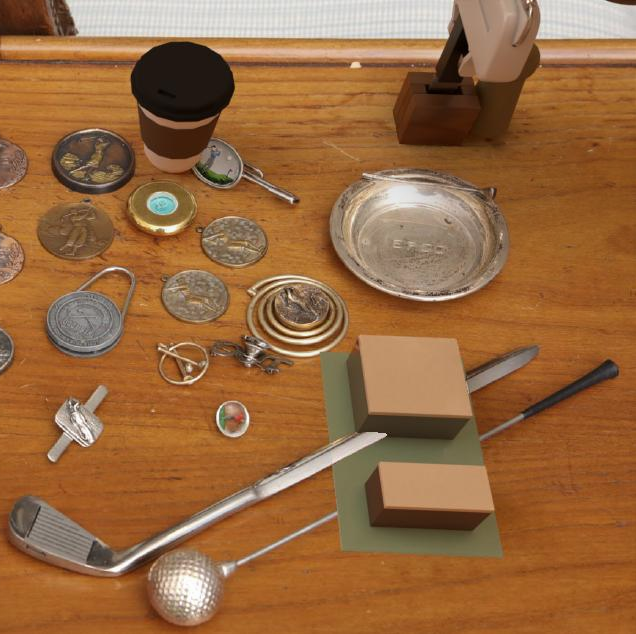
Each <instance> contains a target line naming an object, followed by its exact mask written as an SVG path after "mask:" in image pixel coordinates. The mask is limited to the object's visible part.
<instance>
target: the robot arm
mask: <svg viewBox="0 0 636 634" xmlns="http://www.w3.org/2000/svg"><path fill="white" fill-rule="evenodd" d="M605 1H606V2H609V3H612V4H617V5H621V6H632V7H633V6H636V0H605ZM451 10H452V11H451V18H450V19H449V20H450V21H449V23H448V25H447V32H448V36H450V33H451V31H452V29H453V26H454V24H455V22H456V20H457V17H458V15H459V13H460V15H461V19H462V23H463V27H464V30H465V34H466V38H467V42H468V45H469V47H468V50H469V51H470V52H469V53H468V54H461V56H460V58H459V62H458V63H457V67H458V72H459V75H460V76H461V77H473V78H474V77H475V76H476V79H478V80H480V81H484V82H511V81H513V80H515V79H517V78H518V76H519V75H520V73H521V71H522V69H523V67H524V65H525V62H526V60H527V58H528V56H529V53H530V51H531V49H532V46H533V44H534V43H535V41H536V39H537V36H538V34H539V30H540V25H541V19H542V17H541V10H540V6H539V3H538V0H453V3H452V9H451Z"/></svg>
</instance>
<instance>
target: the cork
mask: <svg viewBox="0 0 636 634" xmlns="http://www.w3.org/2000/svg"><path fill="white" fill-rule="evenodd" d="M541 56H542V55H541V51H540V49H539V46H538V45H536V43H535V42H534V44H533V46H532V49H531V51H530V53H529V56H528V58H527V60H526V62H525V65H524V67H523V69H522V71H521V73H520V75H519V76H518V78H517V79H515V80H513V81H511V82H484V81H480V80H479V79H478V80H477V82H476V83H475V88H476V92H477V96H478V100H479V104H480V107H481V109H480V111H479V113H478V115H477V117H476V119H475V121H474V123H473V125H472V127H471V129H470V130H469V132H468V134H470V135H473V136H475V137H477V138H482V139H494V138H499V137H501V136H503V135H504V134H505V133H507V131H508V129H509V127H510V125H511V121H512V119H513V117H514V113H515V111H516V107H517V105H518V102H519V100H520V96H521V93H522V90H523V88H524V85H525V83H526V80H527V79H529V78H530V77H532V75H533V74H534V73H535V72H536V71H537V69H538V68H539V66H540V63H541Z"/></svg>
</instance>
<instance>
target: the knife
mask: <svg viewBox="0 0 636 634" xmlns="http://www.w3.org/2000/svg"><path fill="white" fill-rule="evenodd" d="M468 47H469V45H468V42H467V38H466V34H465V30H464V27H463V23H462V19H461V15H460V13H459V15H458V17H457V20H456V22H455V24H454V26H453V29H452V31H451V33H450V35H448V38H447V40H446V42H445V44H444V47H443V50H442V52H441V54H440V56H439V59H438V61H437V63H436V65H435V67H434V69H435V72H436V74H434V75H433V77H432V80H431V82H430V84H429V87H428V89H427V91H426V93H427V94H442V95H454V94H455V92H456V89H457V87H458V85H459V83H461V82H462V80H463V78H464V77H461V76H460V75H459V72H458V67H457V63H458V62H459V58H460V56H461V54H468V53H469V52H470V51H469V50H468Z"/></svg>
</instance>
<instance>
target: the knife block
mask: <svg viewBox="0 0 636 634" xmlns="http://www.w3.org/2000/svg"><path fill="white" fill-rule="evenodd" d="M434 74H436V71H435V72H434V71H411V70H410V71H407V73H406V76H405V78H404V81H403V83H402V86H401V88H400V90H399V93H398V95H397V97H396V100H395V102H394V106H393V109H392V113H393V114H392V115H393V118H394V123H395V128H396V134H397V139H398V144H400V145H423V146H424V145H425V146H451V147H462V146H463V144H464V142H465V140H466V138H467V137H468V134H469V133H468V132H469V130H470V129H471V127H472V125H473V123H474V121H475V119H476V117H477V115H478V113H479V111H480V109H481V107H480V104H479V100H478V96H477V92H476V88H475V85H476V83H475V81H474V76H473V77H464V78H463V80H462V82H461V83H459V85H458V87H457V89H456V92H455V94H454V95H442V94H427V93H426V91H427V89H428V87H429V84H430V82H431V80H432V77H433V75H434Z"/></svg>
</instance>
